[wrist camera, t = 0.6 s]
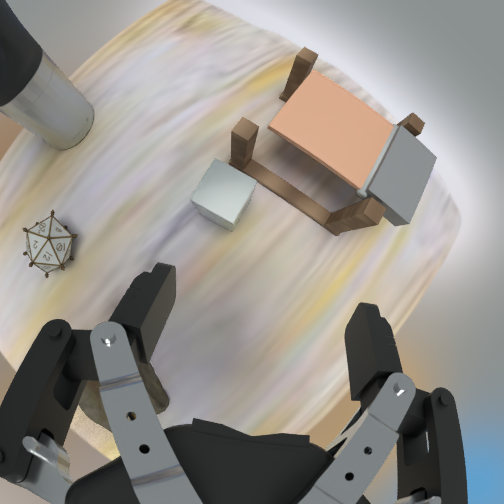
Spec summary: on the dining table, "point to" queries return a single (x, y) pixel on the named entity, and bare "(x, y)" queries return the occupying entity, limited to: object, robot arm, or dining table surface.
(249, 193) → the slate block
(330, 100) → the trapdoor
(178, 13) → the dining table surface
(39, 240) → the game die
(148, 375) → the marble piece
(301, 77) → the frame
